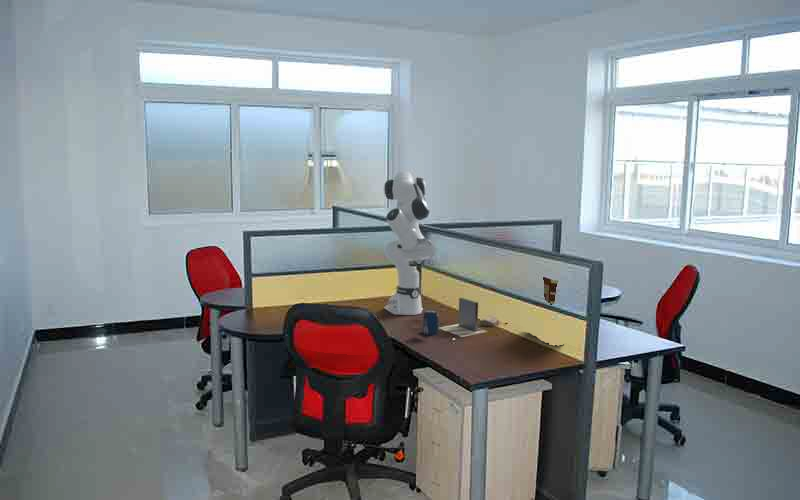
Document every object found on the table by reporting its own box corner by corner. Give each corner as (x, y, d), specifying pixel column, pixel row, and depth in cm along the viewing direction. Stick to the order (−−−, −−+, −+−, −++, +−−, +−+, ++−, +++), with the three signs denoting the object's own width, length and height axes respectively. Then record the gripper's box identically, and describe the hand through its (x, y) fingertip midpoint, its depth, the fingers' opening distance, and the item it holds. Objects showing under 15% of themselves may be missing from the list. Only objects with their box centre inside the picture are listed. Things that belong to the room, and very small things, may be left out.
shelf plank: (437, 330, 304) (437, 327, 303) (463, 325, 313) (463, 323, 312) (461, 340, 289) (461, 336, 289) (487, 334, 298) (487, 331, 298)
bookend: (458, 326, 307) (459, 297, 305) (465, 324, 309) (466, 296, 307) (474, 331, 297) (475, 302, 295) (482, 330, 300) (482, 301, 298)
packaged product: (490, 311, 324) (509, 314, 318) (490, 321, 324) (508, 323, 319) (476, 319, 308) (494, 322, 303) (475, 329, 309) (494, 332, 304)
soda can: (439, 334, 298) (439, 309, 296) (436, 338, 291) (436, 313, 289) (424, 333, 299) (425, 308, 298) (421, 337, 293) (422, 312, 291)
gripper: (430, 233, 282) (446, 255, 287) (400, 237, 297) (415, 259, 302) (423, 242, 278) (439, 265, 284) (393, 246, 294) (409, 268, 299)
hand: (427, 262), depth 293 cm, fingers open, 8 cm apart
